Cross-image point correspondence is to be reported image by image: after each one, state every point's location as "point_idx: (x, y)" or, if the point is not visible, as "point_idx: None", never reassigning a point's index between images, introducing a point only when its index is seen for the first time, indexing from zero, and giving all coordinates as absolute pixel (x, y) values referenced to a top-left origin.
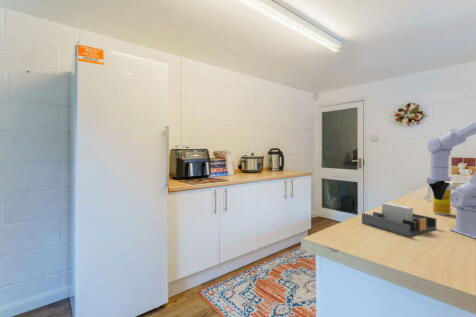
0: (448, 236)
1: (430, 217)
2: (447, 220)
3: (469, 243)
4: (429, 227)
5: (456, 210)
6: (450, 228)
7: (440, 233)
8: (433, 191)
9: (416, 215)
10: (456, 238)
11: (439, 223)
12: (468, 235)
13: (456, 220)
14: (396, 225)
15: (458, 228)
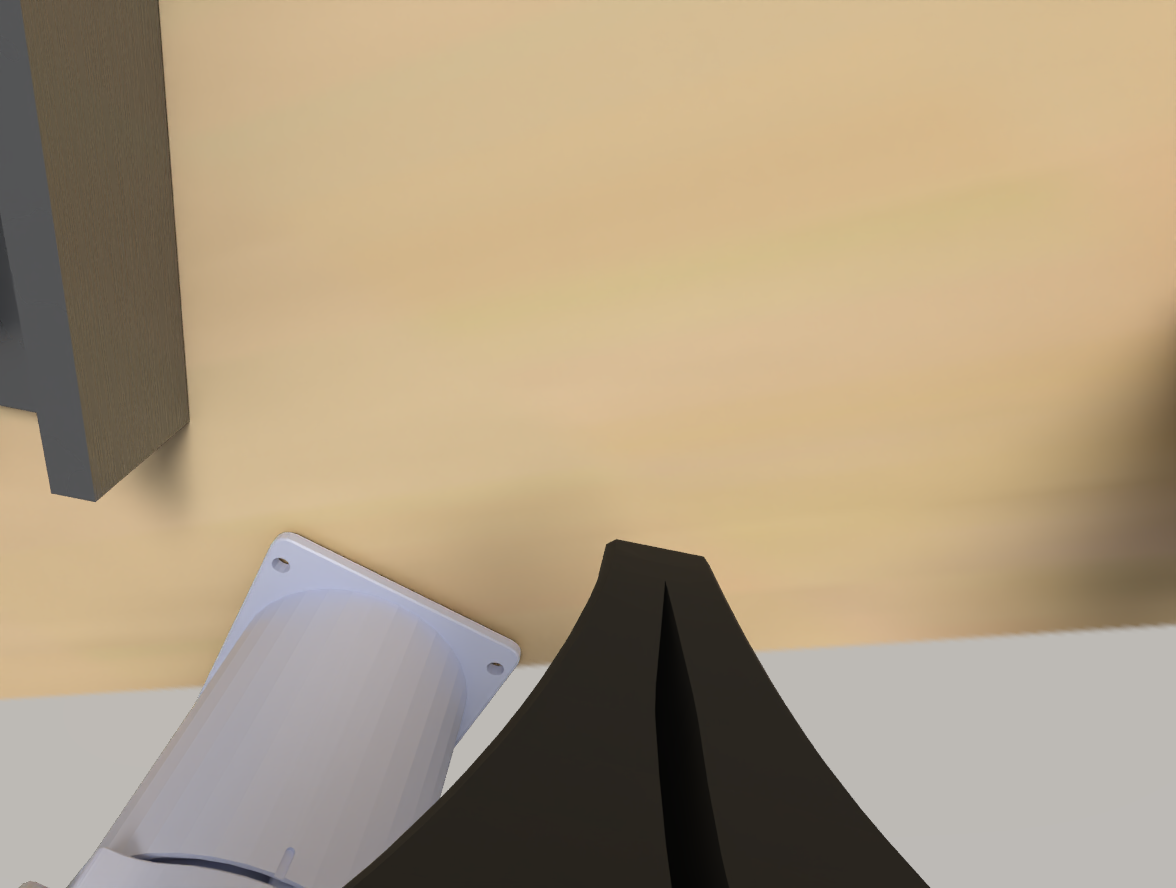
0: (31, 556)
1: (72, 428)
2: (838, 428)
3: (16, 688)
4: (17, 394)
5: (174, 807)
6: (296, 546)
7: None
8: (530, 701)
9: (11, 206)
10: (46, 610)
11: (533, 388)
12: (207, 680)
13: (234, 684)
14: None
15: (240, 637)
